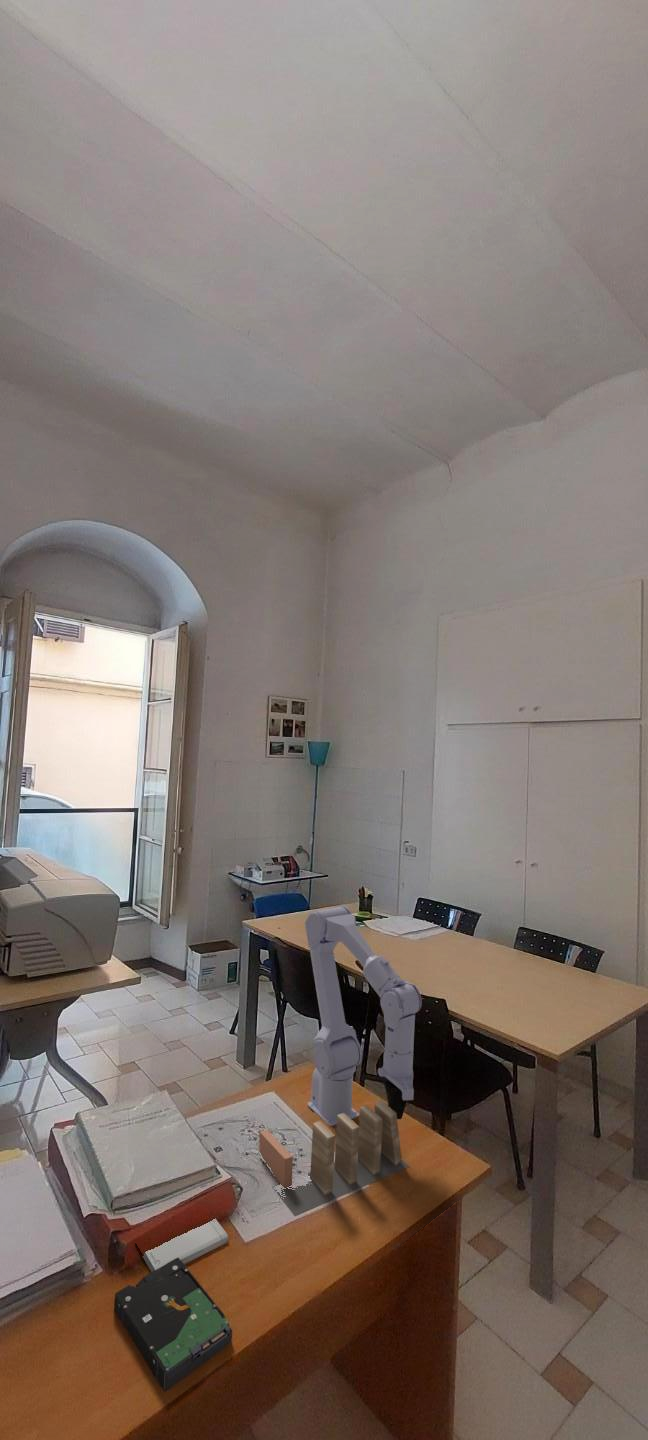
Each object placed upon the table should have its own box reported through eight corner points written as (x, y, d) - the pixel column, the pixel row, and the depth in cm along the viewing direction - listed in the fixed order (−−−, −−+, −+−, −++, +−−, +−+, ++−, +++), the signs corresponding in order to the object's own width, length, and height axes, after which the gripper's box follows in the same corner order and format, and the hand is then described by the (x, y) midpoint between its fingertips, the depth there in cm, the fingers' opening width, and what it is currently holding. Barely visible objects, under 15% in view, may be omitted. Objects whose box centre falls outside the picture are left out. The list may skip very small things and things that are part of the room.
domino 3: (349, 1185, 114) (352, 1129, 114) (334, 1168, 118) (337, 1115, 118) (356, 1182, 115) (359, 1126, 115) (341, 1166, 119) (343, 1112, 119)
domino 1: (285, 1159, 112) (259, 1131, 121) (284, 1188, 112) (258, 1159, 120) (292, 1156, 113) (267, 1129, 122) (291, 1185, 113) (266, 1156, 121)
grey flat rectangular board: (272, 1189, 112) (272, 1186, 112) (383, 1145, 126) (383, 1143, 126) (294, 1218, 106) (294, 1215, 106) (409, 1168, 120) (409, 1166, 120)
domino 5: (395, 1165, 120) (390, 1116, 119) (379, 1151, 124) (374, 1103, 123) (401, 1161, 121) (396, 1112, 120) (385, 1147, 125) (380, 1099, 124)
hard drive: (155, 1271, 92) (228, 1234, 100) (134, 1235, 99) (205, 1203, 106) (154, 1283, 92) (228, 1245, 100) (134, 1246, 99) (204, 1213, 106)
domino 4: (373, 1175, 117) (375, 1120, 117) (357, 1159, 121) (360, 1107, 121) (379, 1172, 118) (382, 1118, 118) (364, 1157, 122) (366, 1105, 122)
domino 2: (324, 1195, 111) (327, 1138, 111) (310, 1178, 115) (313, 1123, 115) (332, 1192, 112) (335, 1135, 112) (317, 1175, 116) (320, 1120, 116)
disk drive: (111, 1314, 87) (164, 1397, 76) (112, 1293, 87) (166, 1373, 76) (176, 1274, 94) (233, 1344, 83) (177, 1255, 94) (234, 1322, 83)
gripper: (371, 1031, 130) (367, 1097, 130) (389, 1066, 116) (385, 1141, 115) (403, 1030, 131) (400, 1096, 131) (425, 1065, 117) (422, 1139, 117)
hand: (395, 1117), depth 123 cm, fingers closed
